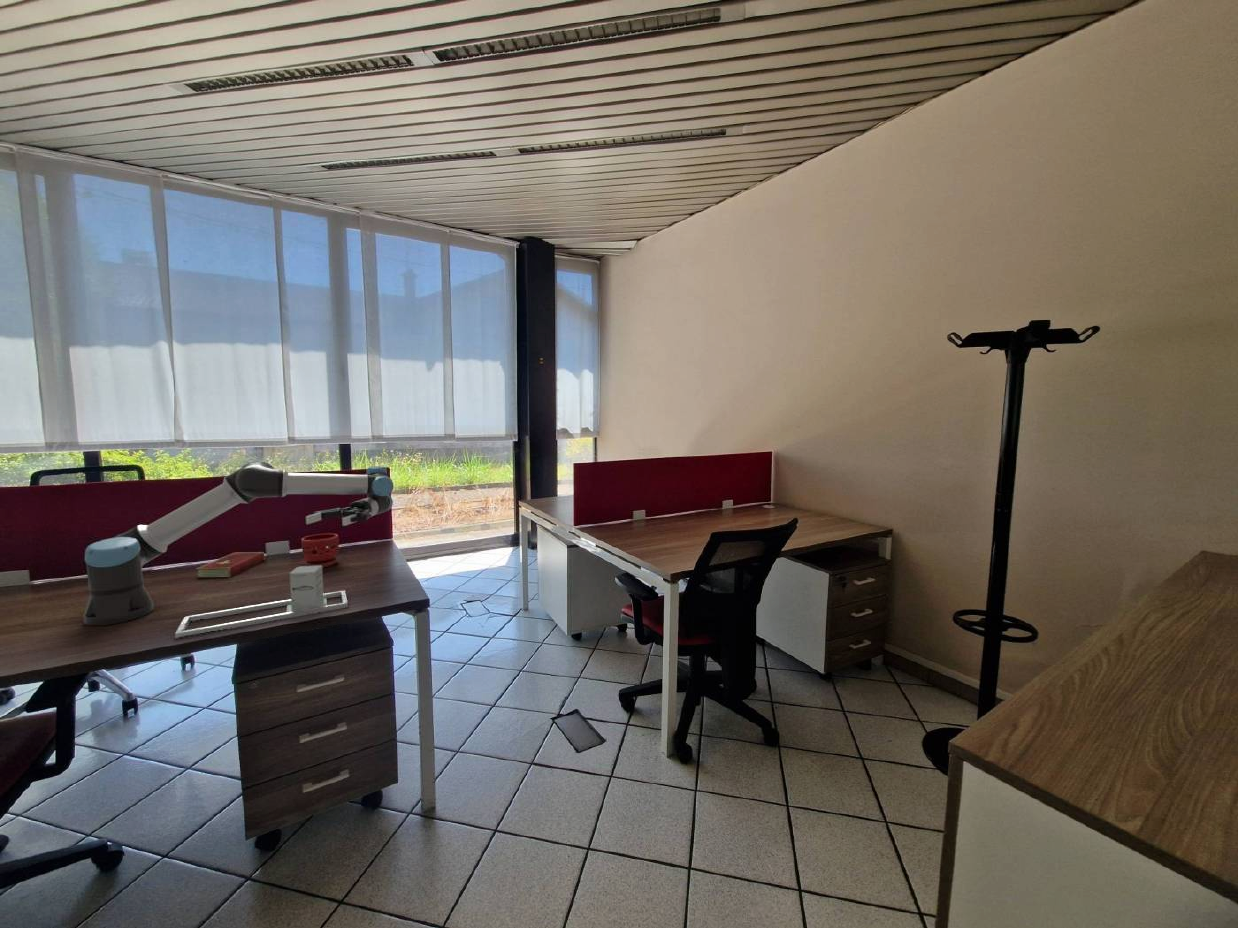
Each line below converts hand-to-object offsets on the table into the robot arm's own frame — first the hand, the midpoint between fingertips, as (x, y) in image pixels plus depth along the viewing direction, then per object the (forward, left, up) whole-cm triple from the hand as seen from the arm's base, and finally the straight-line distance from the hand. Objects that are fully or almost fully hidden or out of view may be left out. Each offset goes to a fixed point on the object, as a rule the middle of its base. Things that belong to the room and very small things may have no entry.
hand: (325, 521), depth 170 cm
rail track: (-17, -13, -25) cm, 33 cm away
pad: (-7, -13, -25) cm, 29 cm away
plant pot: (-2, +35, -26) cm, 44 cm away
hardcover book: (-32, +47, -26) cm, 63 cm away
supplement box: (-6, -13, -25) cm, 29 cm away
